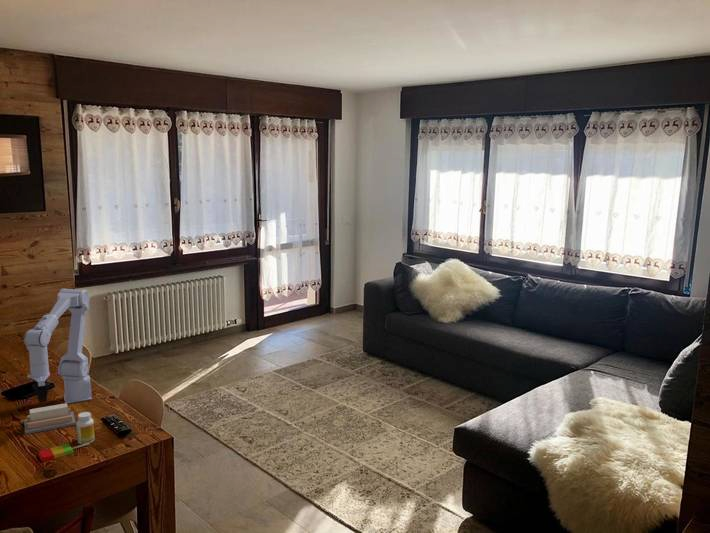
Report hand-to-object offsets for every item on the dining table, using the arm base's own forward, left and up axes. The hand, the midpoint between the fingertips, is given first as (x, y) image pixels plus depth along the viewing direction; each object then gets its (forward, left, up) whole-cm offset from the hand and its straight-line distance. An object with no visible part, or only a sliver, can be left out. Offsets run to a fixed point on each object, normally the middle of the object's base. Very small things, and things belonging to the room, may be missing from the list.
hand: (42, 397), depth 210 cm
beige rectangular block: (-2, +3, -8) cm, 9 cm away
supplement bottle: (-12, +22, -10) cm, 26 cm away
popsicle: (-5, +26, -10) cm, 29 cm away
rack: (-2, +3, -9) cm, 10 cm away
